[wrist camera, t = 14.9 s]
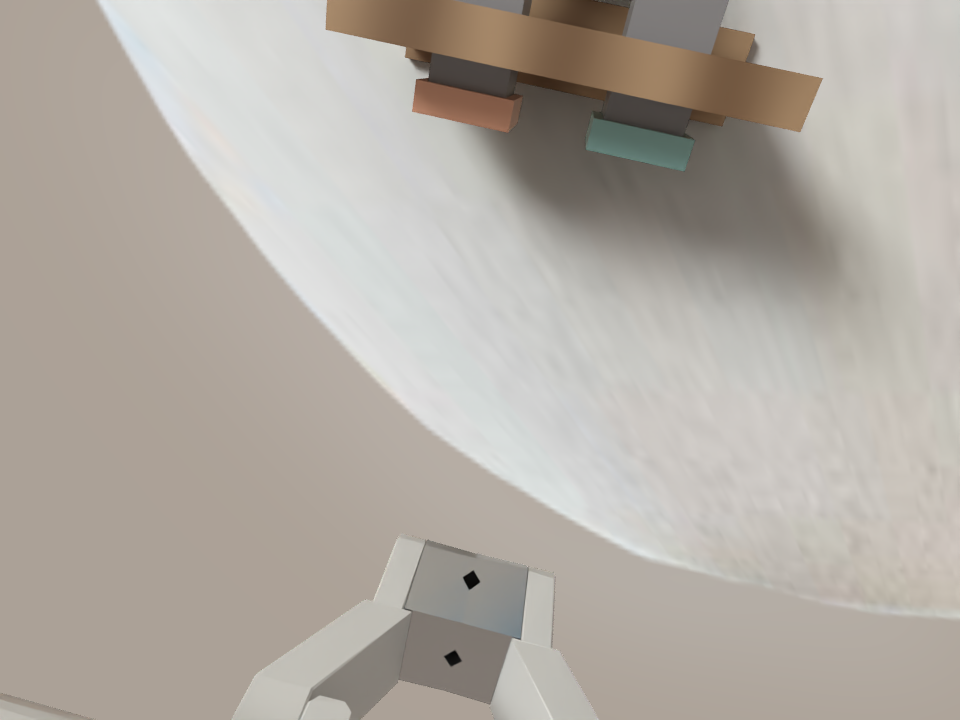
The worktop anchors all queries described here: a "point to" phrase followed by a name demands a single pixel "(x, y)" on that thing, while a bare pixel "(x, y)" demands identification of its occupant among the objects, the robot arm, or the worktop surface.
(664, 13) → the teal button
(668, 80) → the walnut panel
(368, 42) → the worktop surface
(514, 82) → the terracotta button
